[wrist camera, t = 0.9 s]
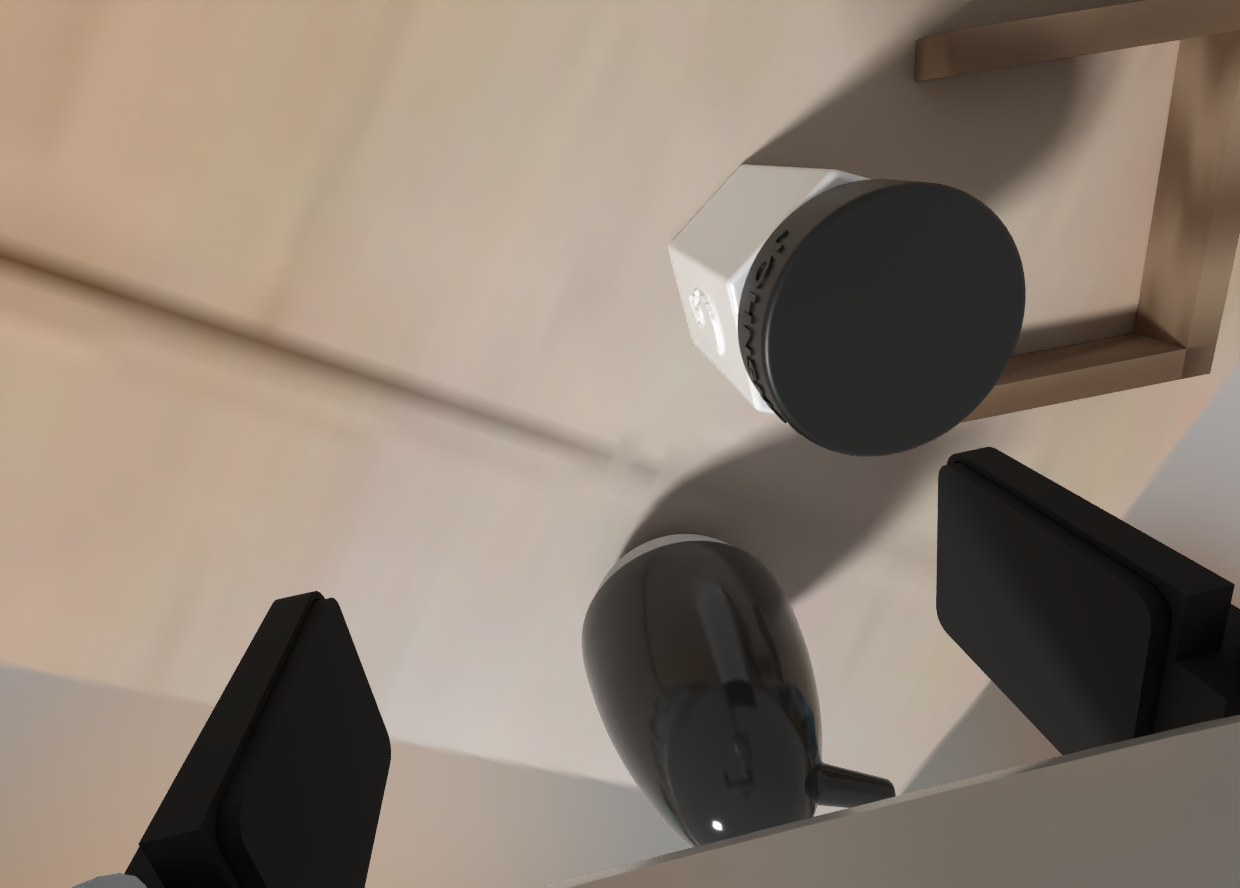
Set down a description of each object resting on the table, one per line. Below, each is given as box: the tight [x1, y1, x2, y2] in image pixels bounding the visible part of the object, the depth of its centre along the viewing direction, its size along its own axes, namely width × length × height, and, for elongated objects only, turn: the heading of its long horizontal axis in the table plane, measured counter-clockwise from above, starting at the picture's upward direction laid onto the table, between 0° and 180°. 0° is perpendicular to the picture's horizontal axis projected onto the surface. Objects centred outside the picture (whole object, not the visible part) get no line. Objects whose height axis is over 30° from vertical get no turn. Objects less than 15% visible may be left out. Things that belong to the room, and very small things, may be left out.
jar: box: [668, 164, 1025, 457], centre depth 26 cm, size 9×8×12 cm
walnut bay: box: [915, 0, 1240, 423], centre depth 31 cm, size 16×14×3 cm
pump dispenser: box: [582, 534, 896, 848], centre depth 30 cm, size 10×10×15 cm
